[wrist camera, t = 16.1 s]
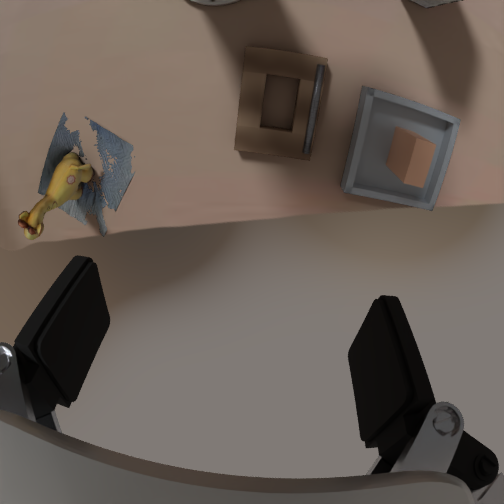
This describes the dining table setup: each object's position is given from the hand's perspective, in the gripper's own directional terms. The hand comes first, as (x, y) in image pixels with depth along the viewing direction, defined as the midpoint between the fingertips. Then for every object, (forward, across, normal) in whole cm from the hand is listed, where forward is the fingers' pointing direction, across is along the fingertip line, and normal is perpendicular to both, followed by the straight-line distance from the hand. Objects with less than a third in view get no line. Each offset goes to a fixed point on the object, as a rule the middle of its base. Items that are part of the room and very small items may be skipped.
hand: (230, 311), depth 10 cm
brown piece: (+34, -2, -3) cm, 34 cm away
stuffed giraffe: (+35, +28, +10) cm, 46 cm away
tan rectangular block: (+34, -20, 0) cm, 39 cm away
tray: (+34, -20, 0) cm, 40 cm away
